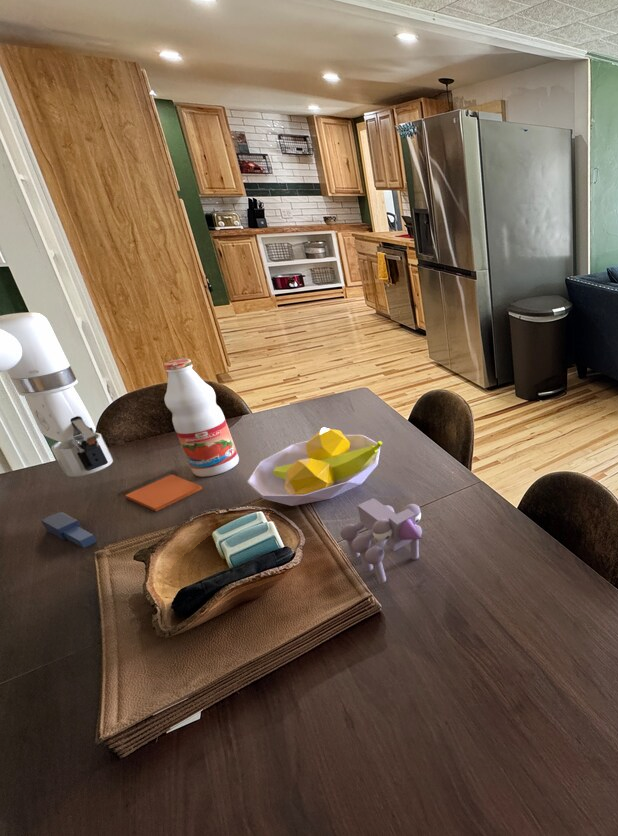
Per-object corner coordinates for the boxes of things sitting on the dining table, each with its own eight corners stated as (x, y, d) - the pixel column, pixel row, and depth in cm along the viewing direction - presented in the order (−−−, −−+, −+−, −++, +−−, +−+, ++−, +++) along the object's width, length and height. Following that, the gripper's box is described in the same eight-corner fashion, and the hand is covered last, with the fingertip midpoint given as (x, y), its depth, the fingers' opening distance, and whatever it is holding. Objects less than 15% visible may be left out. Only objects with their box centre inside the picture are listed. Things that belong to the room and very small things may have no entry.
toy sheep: (455, 573, 85) (445, 511, 80) (401, 612, 77) (386, 547, 72) (394, 528, 96) (382, 472, 91) (341, 558, 88) (325, 498, 83)
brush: (80, 550, 91) (73, 538, 90) (47, 531, 96) (40, 520, 95) (100, 540, 93) (94, 528, 92) (66, 522, 98) (60, 511, 97)
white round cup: (75, 480, 91) (61, 453, 88) (58, 472, 93) (44, 445, 91) (120, 462, 96) (107, 436, 94) (103, 455, 99) (90, 430, 96)
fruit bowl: (227, 506, 103) (210, 462, 99) (329, 446, 127) (319, 408, 122) (326, 534, 95) (312, 486, 90) (415, 464, 118) (408, 424, 114)
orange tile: (156, 511, 102) (154, 508, 101) (126, 498, 106) (124, 495, 106) (202, 488, 109) (201, 486, 109) (172, 477, 114) (171, 474, 113)
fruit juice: (241, 453, 124) (205, 352, 113) (238, 470, 116) (199, 364, 105) (196, 463, 119) (154, 359, 108) (190, 482, 112) (144, 372, 101)
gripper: (-5, 380, 87) (41, 462, 94) (38, 396, 81) (84, 483, 88) (51, 367, 94) (90, 445, 101) (95, 380, 87) (134, 462, 94)
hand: (87, 462), depth 94 cm, fingers closed on white round cup, 6 cm apart
